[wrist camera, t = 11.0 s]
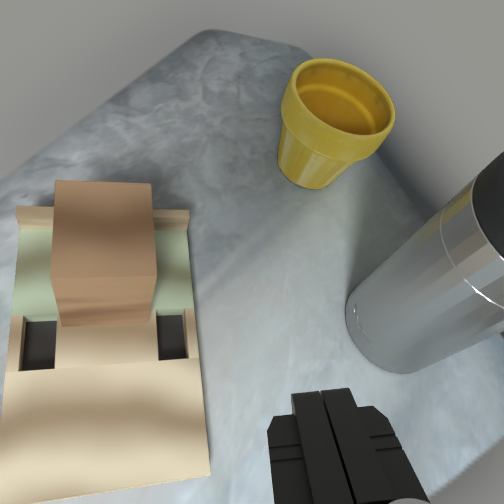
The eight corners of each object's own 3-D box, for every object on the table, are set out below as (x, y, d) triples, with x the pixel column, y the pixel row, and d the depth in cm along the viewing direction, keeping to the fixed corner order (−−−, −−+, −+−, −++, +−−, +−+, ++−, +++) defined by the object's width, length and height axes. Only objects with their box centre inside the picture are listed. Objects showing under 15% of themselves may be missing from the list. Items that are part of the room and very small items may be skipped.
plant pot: (317, 121, 53) (355, 49, 45) (367, 189, 50) (418, 125, 41) (243, 140, 48) (270, 63, 40) (293, 216, 45) (333, 149, 37)
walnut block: (148, 322, 34) (157, 275, 28) (62, 327, 32) (49, 278, 26) (143, 242, 37) (151, 183, 31) (65, 242, 36) (55, 180, 29)
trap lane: (206, 476, 31) (216, 472, 29) (-3, 509, 28) (-17, 509, 25) (183, 231, 41) (189, 209, 38) (23, 230, 37) (16, 205, 34)
